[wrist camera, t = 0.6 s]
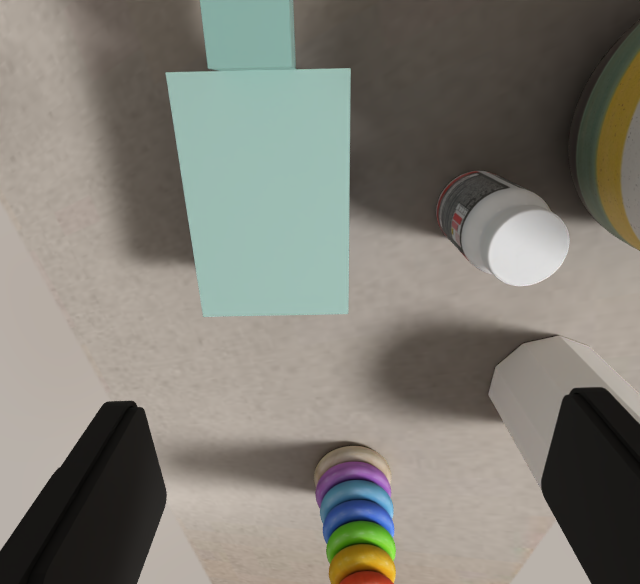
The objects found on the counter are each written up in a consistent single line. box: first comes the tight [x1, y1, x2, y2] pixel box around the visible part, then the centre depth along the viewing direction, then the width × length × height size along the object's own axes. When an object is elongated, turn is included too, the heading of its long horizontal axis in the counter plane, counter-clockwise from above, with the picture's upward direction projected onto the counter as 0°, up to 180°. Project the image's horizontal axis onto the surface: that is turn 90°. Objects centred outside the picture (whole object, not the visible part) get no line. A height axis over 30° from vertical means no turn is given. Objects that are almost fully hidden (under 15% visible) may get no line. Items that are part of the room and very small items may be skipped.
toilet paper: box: [488, 336, 640, 490], centre depth 35 cm, size 10×10×12 cm
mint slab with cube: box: [165, 0, 351, 317], centre depth 25 cm, size 19×10×4 cm, turn 1°
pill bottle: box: [436, 171, 570, 286], centre depth 29 cm, size 6×6×10 cm
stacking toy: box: [314, 446, 396, 584], centre depth 37 cm, size 8×8×19 cm
